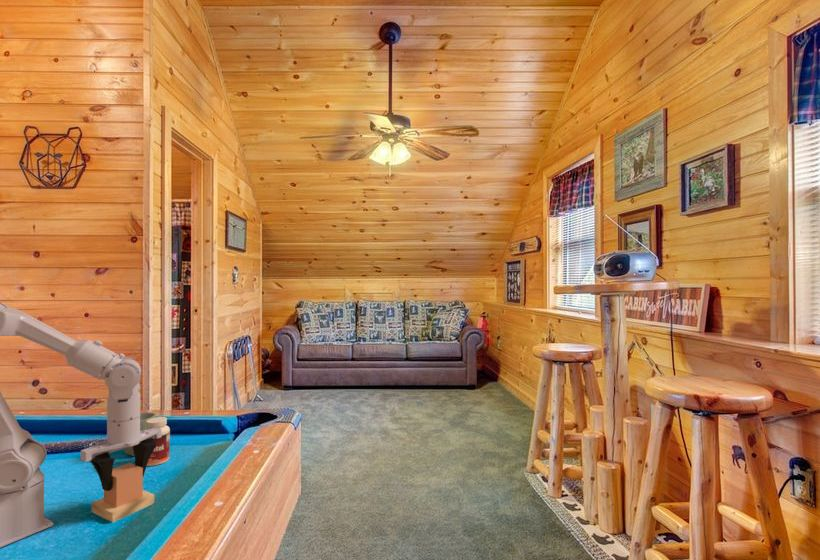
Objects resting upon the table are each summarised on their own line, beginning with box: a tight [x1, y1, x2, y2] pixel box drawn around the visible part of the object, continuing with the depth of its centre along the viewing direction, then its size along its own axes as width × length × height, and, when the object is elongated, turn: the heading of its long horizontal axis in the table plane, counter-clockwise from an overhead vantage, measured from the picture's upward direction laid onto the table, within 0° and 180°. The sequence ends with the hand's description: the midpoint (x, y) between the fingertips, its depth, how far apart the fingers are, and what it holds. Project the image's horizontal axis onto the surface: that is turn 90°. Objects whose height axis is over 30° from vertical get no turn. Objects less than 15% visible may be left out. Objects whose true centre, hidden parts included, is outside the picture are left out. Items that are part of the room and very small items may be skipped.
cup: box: [122, 411, 157, 457], centre depth 113 cm, size 8×8×10 cm
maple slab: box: [91, 489, 155, 523], centre depth 85 cm, size 8×8×2 cm
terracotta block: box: [103, 462, 144, 508], centre depth 85 cm, size 5×5×6 cm
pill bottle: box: [145, 416, 171, 467], centre depth 107 cm, size 6×6×11 cm
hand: (123, 482), depth 85 cm, fingers open, 6 cm apart
